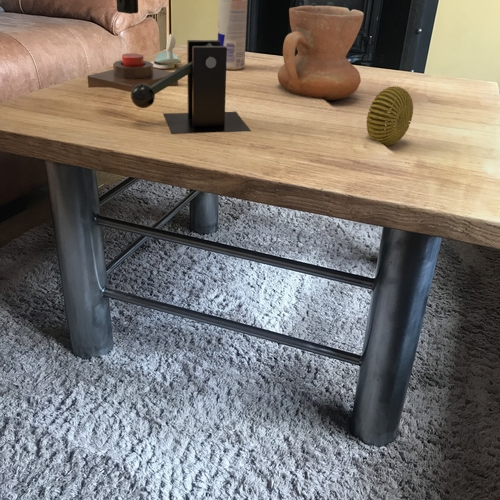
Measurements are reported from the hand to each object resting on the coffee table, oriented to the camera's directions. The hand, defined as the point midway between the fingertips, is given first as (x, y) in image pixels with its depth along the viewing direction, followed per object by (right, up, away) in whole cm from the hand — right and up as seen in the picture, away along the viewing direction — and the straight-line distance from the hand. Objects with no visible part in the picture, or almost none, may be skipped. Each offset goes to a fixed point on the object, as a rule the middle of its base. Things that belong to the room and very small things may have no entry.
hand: (127, 12), depth 92 cm
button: (0, -7, +5) cm, 9 cm away
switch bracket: (+14, -22, -12) cm, 28 cm away
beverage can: (+16, -2, +24) cm, 29 cm away
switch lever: (+11, -17, -16) cm, 25 cm away
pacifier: (+3, -2, +21) cm, 21 cm away
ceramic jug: (+32, -12, +8) cm, 35 cm away
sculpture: (+39, -24, -13) cm, 48 cm away
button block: (0, -10, +6) cm, 12 cm away
